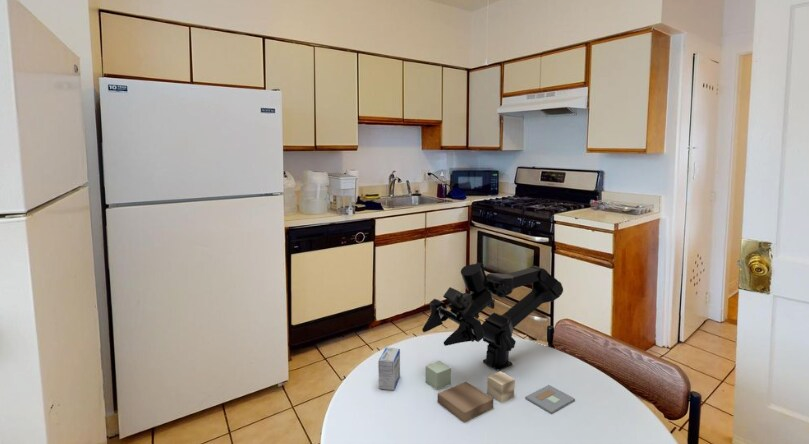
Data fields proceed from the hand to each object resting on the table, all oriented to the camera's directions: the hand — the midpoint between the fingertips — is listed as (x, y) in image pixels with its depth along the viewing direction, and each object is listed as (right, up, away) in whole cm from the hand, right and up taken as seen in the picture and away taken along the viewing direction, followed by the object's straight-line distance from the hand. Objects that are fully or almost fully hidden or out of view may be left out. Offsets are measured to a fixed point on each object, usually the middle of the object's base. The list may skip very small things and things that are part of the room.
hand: (433, 337), depth 113 cm
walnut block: (+8, -17, -5) cm, 19 cm away
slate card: (+31, -16, -2) cm, 34 cm away
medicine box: (-12, -14, +6) cm, 20 cm away
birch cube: (+18, -15, 0) cm, 24 cm away
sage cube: (+2, -14, +5) cm, 15 cm away
